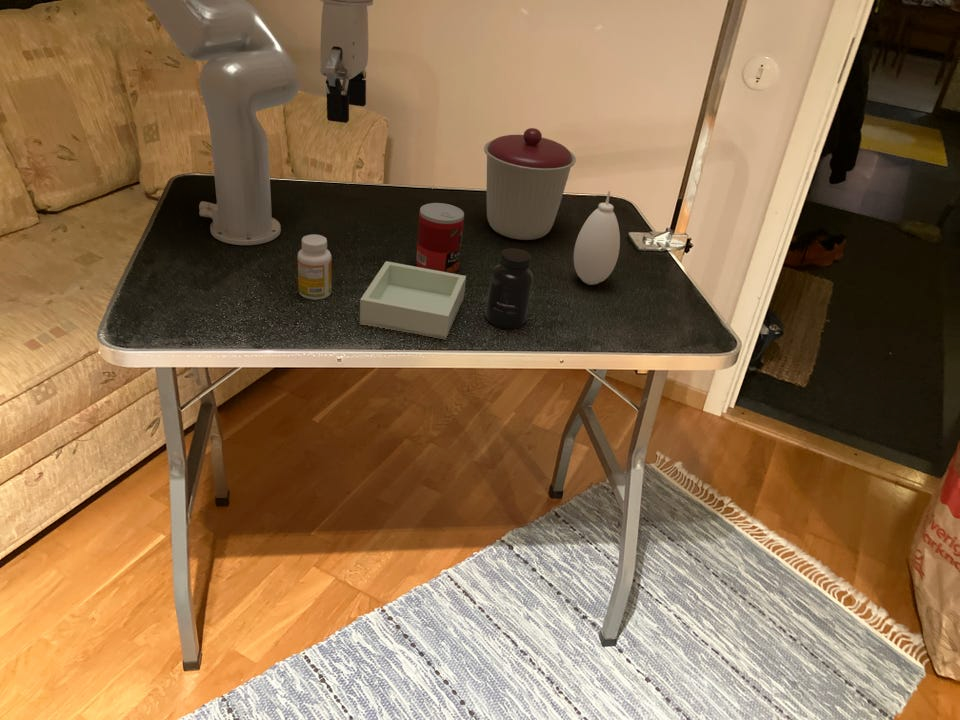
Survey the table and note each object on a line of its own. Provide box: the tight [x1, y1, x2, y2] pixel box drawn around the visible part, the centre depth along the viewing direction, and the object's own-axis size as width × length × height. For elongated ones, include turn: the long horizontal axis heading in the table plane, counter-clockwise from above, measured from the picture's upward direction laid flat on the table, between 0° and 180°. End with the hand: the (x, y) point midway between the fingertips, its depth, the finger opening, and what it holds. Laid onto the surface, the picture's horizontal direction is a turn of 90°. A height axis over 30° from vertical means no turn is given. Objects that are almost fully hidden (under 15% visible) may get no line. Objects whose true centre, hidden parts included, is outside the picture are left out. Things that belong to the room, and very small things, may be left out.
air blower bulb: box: [573, 190, 621, 286], centre depth 134 cm, size 8×8×18 cm
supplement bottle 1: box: [297, 234, 333, 301], centre depth 122 cm, size 5×5×10 cm
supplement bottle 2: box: [485, 247, 534, 330], centre depth 121 cm, size 7×7×12 cm
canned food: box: [415, 202, 465, 274], centre depth 134 cm, size 8×8×11 cm
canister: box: [483, 127, 577, 241], centre depth 149 cm, size 18×18×21 cm
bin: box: [359, 260, 467, 341], centre depth 122 cm, size 14×14×4 cm
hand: (347, 112), depth 116 cm, fingers open, 9 cm apart
